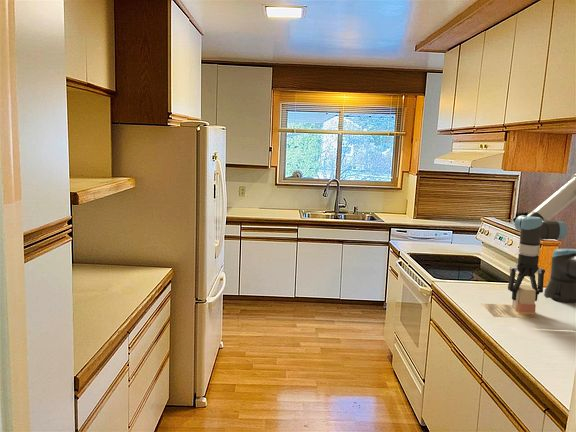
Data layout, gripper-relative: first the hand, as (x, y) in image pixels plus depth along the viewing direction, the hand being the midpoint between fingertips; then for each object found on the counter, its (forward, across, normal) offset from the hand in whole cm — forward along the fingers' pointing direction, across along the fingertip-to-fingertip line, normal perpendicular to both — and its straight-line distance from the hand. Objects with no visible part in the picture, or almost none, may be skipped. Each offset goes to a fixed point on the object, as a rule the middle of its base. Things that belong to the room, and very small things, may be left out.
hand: (523, 307), depth 201 cm
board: (+2, +6, +1) cm, 6 cm away
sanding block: (+1, 0, 0) cm, 1 cm away
